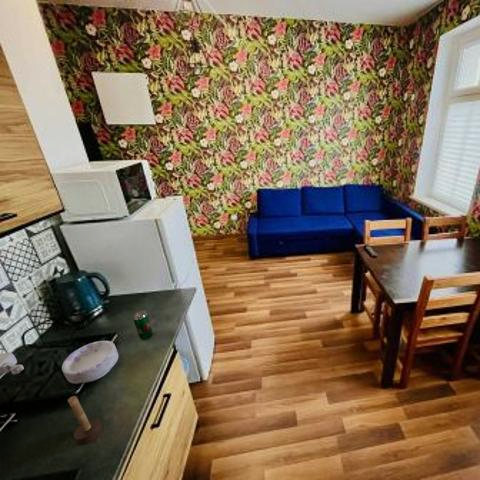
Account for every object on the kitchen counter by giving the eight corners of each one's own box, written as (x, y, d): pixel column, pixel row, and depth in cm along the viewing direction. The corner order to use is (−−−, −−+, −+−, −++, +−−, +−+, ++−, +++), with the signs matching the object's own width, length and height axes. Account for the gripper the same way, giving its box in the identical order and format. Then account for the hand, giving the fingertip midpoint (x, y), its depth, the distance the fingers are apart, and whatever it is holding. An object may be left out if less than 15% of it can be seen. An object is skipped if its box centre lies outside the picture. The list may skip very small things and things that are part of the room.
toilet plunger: (73, 448, 75) (52, 412, 70) (81, 427, 81) (63, 393, 75) (98, 439, 77) (81, 404, 72) (105, 420, 83) (89, 386, 77)
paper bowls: (90, 394, 91) (82, 377, 87) (58, 383, 94) (49, 367, 91) (130, 360, 104) (125, 344, 101) (101, 351, 108) (95, 336, 105)
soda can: (138, 336, 116) (130, 314, 111) (151, 330, 119) (144, 308, 115) (141, 342, 113) (134, 319, 108) (155, 336, 116) (148, 313, 112)
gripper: (-15, 367, 76) (41, 360, 78) (-105, 445, 57) (-28, 432, 60) (-26, 351, 74) (33, 344, 76) (-124, 426, 55) (-43, 414, 57)
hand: (5, 384), depth 68 cm, fingers open, 8 cm apart
